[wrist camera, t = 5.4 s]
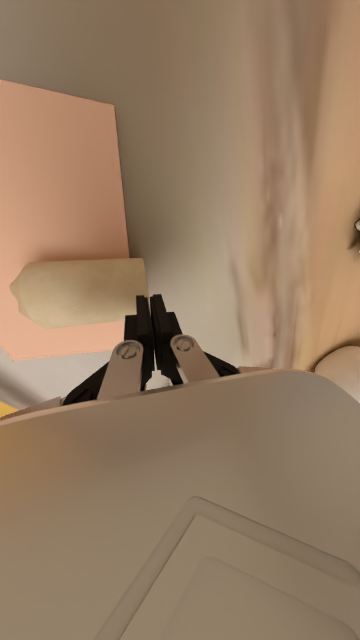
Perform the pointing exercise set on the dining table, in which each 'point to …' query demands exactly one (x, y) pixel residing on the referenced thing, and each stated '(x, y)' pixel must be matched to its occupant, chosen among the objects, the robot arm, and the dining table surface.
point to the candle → (79, 291)
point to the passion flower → (359, 226)
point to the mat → (56, 206)
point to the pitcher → (343, 369)
